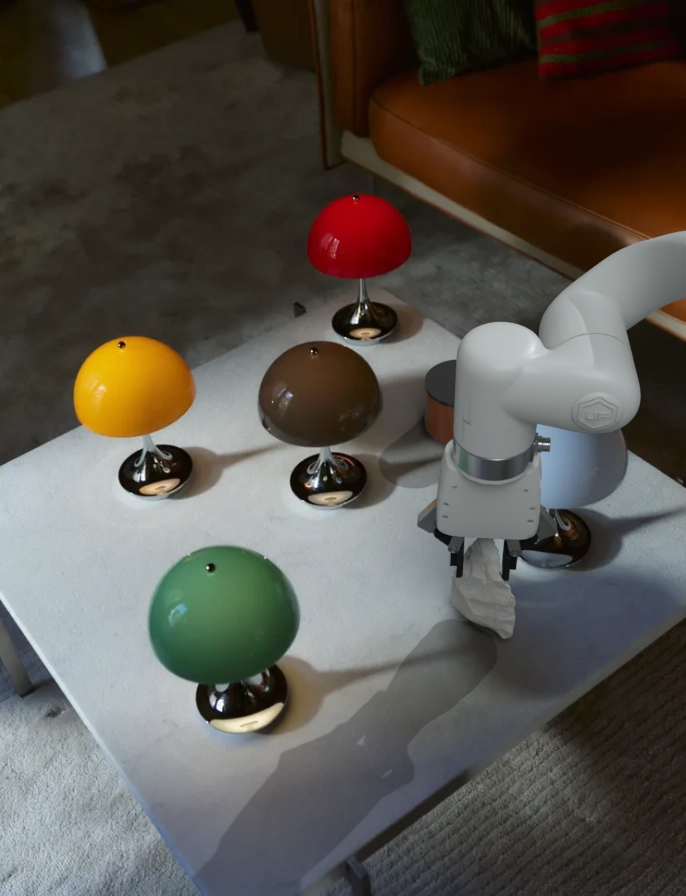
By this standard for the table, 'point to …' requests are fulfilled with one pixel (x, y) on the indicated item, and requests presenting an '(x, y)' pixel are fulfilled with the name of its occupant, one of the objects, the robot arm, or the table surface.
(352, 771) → the table surface
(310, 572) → the table surface
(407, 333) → the table surface
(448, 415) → the canister
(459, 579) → the stone tool
